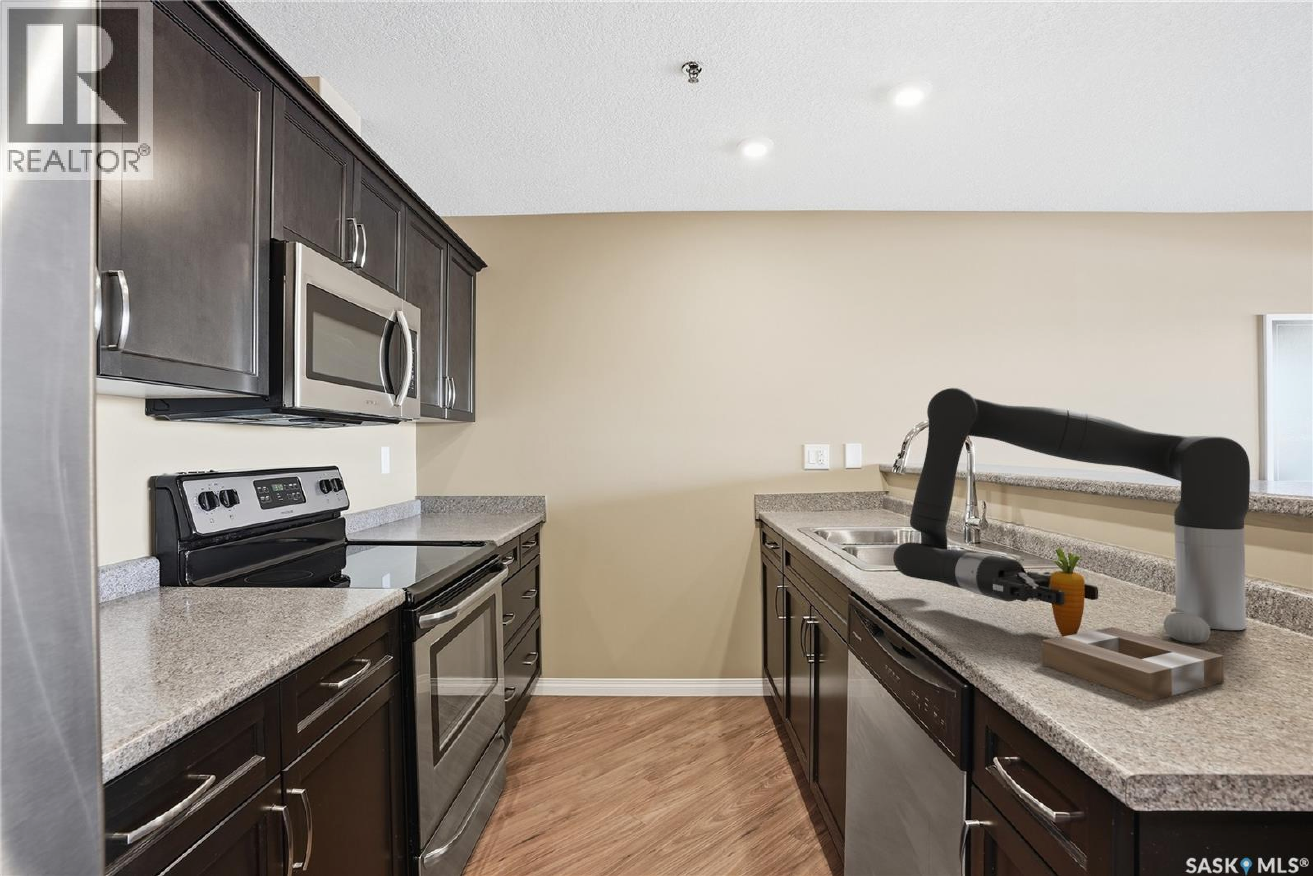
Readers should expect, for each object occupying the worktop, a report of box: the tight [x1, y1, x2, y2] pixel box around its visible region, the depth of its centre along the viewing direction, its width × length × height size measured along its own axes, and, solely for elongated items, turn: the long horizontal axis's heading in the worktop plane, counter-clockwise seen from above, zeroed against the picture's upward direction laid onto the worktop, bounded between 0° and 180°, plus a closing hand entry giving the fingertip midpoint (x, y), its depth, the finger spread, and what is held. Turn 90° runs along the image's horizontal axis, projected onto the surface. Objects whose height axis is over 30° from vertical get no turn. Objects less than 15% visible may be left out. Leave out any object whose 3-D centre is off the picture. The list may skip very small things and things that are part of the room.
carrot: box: [1050, 548, 1086, 637], centre depth 99 cm, size 5×5×15 cm
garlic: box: [1163, 607, 1211, 644], centre depth 100 cm, size 6×5×5 cm
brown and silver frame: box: [1041, 626, 1225, 702], centre depth 86 cm, size 16×14×4 cm
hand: (1080, 596), depth 97 cm, fingers open, 7 cm apart
